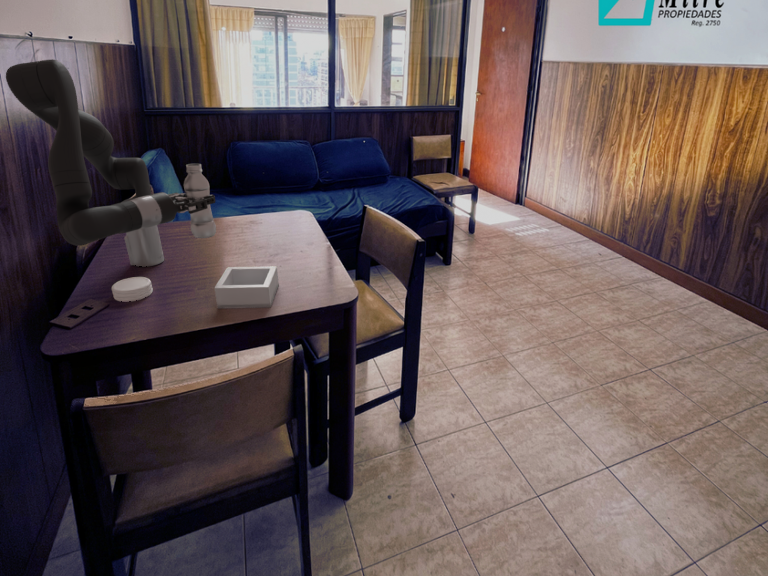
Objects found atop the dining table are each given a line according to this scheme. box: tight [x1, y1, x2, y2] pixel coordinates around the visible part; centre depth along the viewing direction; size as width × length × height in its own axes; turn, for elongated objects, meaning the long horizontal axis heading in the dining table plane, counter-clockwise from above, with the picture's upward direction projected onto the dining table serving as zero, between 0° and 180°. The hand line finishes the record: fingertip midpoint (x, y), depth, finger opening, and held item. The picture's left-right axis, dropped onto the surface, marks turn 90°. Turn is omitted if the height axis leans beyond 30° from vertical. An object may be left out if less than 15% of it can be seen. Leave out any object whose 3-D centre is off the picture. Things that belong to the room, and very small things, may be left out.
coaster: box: [111, 276, 153, 303], centre depth 135 cm, size 10×10×4 cm
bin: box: [213, 265, 280, 309], centre depth 133 cm, size 14×14×6 cm
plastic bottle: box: [183, 163, 217, 239], centre depth 131 cm, size 6×7×20 cm
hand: (205, 196), depth 132 cm, fingers closed on plastic bottle, 6 cm apart
